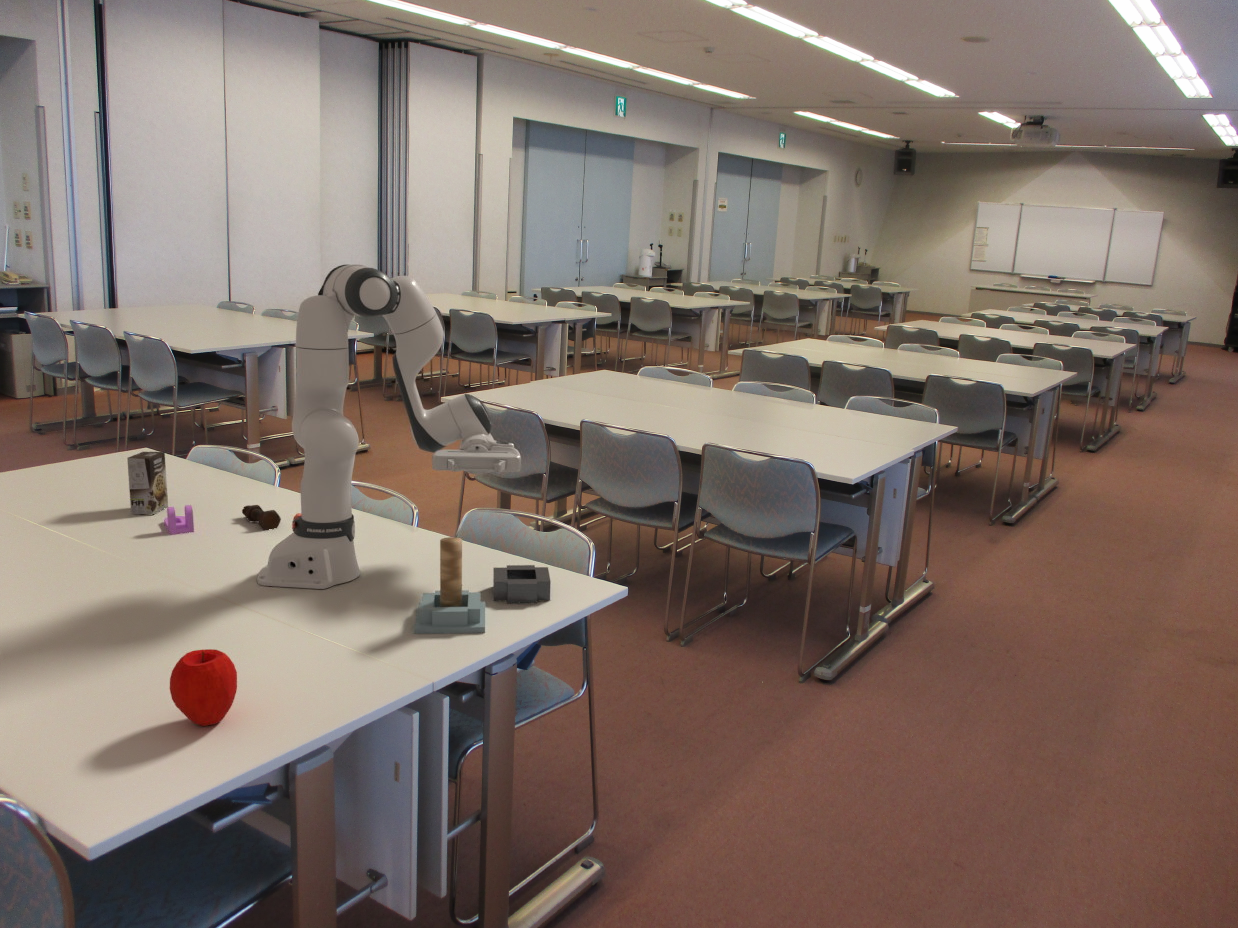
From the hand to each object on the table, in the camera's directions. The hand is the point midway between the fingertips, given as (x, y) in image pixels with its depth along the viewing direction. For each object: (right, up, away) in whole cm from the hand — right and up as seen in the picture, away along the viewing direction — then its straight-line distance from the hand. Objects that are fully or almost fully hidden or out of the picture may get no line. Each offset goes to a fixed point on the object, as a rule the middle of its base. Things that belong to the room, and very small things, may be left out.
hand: (476, 468), depth 211 cm
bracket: (-85, -16, +39) cm, 95 cm away
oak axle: (-3, -30, -16) cm, 34 cm away
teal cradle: (-3, -31, -16) cm, 35 cm away
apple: (-34, -40, -60) cm, 80 cm away
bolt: (-66, -15, +45) cm, 81 cm away
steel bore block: (+10, -28, +1) cm, 30 cm away
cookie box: (-99, -12, +53) cm, 113 cm away
